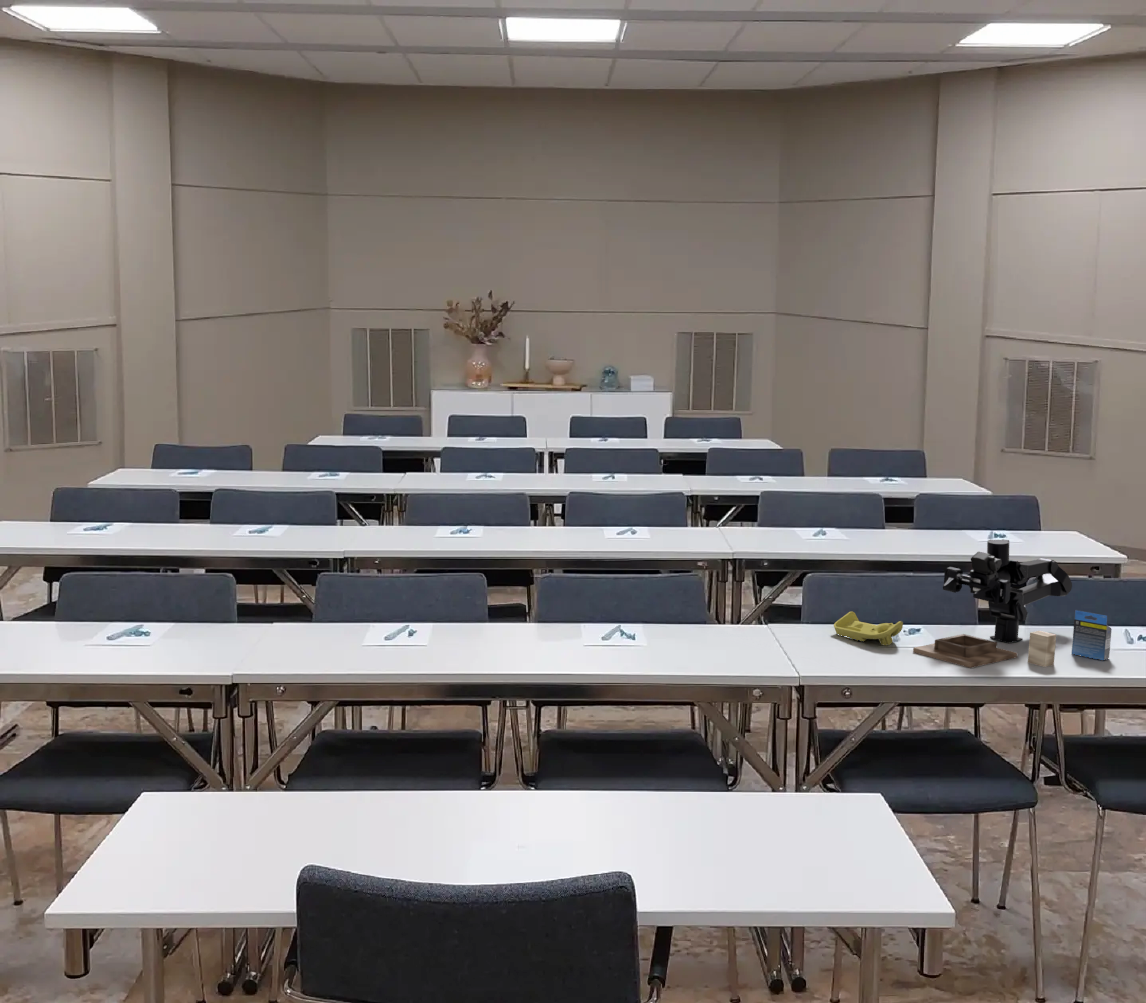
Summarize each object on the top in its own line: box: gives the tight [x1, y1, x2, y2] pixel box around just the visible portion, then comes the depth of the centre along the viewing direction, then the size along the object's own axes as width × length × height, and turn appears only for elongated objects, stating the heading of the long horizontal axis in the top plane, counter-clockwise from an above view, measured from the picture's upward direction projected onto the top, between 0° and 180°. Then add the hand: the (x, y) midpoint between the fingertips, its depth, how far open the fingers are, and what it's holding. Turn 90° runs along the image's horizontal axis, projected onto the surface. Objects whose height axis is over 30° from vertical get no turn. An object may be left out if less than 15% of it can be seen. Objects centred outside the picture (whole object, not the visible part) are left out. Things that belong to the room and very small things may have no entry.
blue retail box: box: [1071, 609, 1112, 661], centre depth 340 cm, size 9×4×12 cm, turn 45°
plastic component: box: [833, 611, 904, 646], centre depth 352 cm, size 20×7×10 cm
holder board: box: [912, 633, 1018, 669], centre depth 339 cm, size 20×18×4 cm
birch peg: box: [1027, 630, 1057, 668], centre depth 332 cm, size 4×5×8 cm
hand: (958, 591), depth 338 cm, fingers open, 9 cm apart
